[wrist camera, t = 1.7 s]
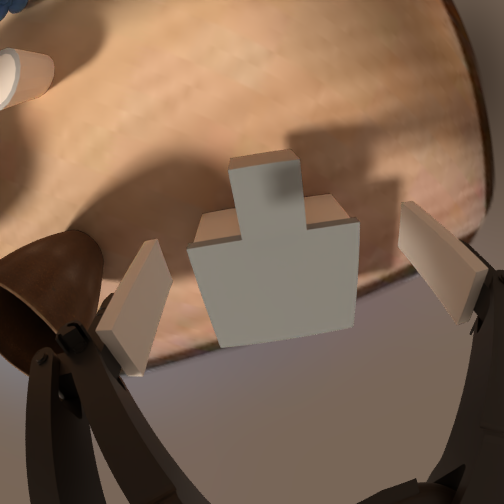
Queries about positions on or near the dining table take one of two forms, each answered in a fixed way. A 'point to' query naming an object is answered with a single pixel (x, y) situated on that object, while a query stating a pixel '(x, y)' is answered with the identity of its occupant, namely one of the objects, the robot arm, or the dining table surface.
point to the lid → (276, 260)
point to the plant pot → (47, 293)
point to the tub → (228, 225)
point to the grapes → (11, 7)
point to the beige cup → (23, 76)
